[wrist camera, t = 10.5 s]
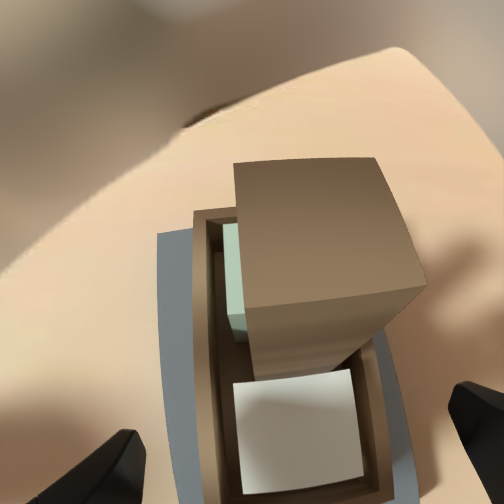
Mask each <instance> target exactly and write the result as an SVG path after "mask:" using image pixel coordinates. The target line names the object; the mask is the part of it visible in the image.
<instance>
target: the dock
mask: <svg viewBox="0 0 504 504" xmlns="http://www.w3.org/2000/svg"><path fill="white" fill-rule="evenodd" d="M192 262H193V228H190V229H184V230H177V231H171V232H165V233H159V234H157V302H158V330H159V348H160V363H161V376H162V388H163V398H164V407H165V416H166V425H167V432H168V440H169V447H170V454H171V460H172V467H173V473H174V478H175V484H176V489H177V495H178V500H179V504H204V498H203V489H202V480H201V470H200V459H199V447H198V434H197V420H196V403H195V384H194V358H193V314H192ZM373 342H374V347H375V352H376V357H377V362H378V368H379V373H380V379H381V385H382V390H383V397H384V403H385V410H386V417H387V424H388V432H389V440H390V448H391V458H392V469H393V481H394V496H395V499H394V500H391V501H388V502H385V503H382V504H420V499H419V491H418V483H417V476H416V469H415V463H414V457H413V451H412V445H411V440H410V435H409V429H408V424H407V420H406V415H405V410H404V406H403V401H402V397H401V393H400V388H399V384H398V380H397V376H396V372H395V368H394V365H393V361H392V357H391V353H390V350H389V346H388V343H387V339H386V336H385V332H384V329H383V328H382V329H381V330H380V331H378V332H377V333H376V334H375V335H374V336H373Z"/></svg>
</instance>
